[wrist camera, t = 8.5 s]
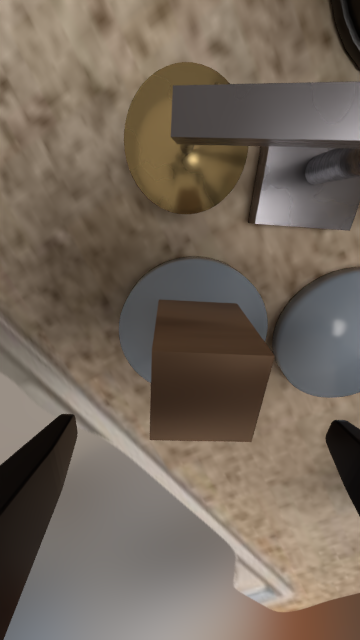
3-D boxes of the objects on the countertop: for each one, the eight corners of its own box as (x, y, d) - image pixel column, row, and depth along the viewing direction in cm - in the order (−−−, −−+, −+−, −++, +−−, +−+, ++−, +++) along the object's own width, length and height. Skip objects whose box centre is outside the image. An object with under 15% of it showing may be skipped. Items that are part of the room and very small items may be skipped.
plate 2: (374, 388, 18) (387, 399, 17) (260, 384, 18) (265, 395, 17) (433, 271, 15) (454, 276, 14) (291, 262, 14) (301, 267, 13)
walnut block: (225, 368, 16) (251, 441, 11) (156, 365, 15) (149, 440, 10) (237, 303, 14) (274, 355, 9) (158, 299, 14) (151, 351, 9)
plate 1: (246, 383, 18) (251, 395, 17) (124, 380, 17) (121, 391, 16) (275, 261, 14) (284, 265, 13) (120, 251, 14) (115, 255, 12)
